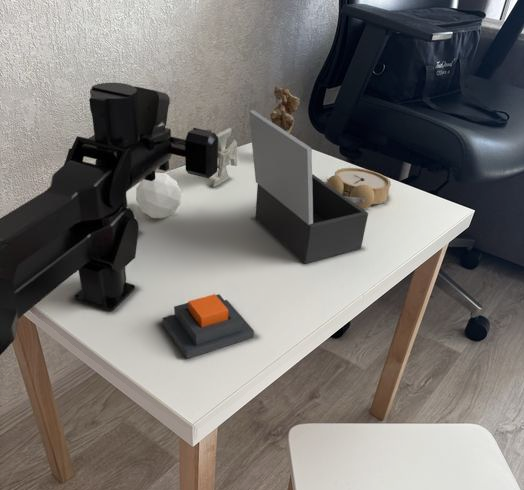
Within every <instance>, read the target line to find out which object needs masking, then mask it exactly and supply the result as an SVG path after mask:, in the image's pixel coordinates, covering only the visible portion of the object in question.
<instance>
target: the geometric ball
mask: <svg viewBox="0 0 524 490" xmlns="http://www.w3.org/2000/svg"><path fill="white" fill-rule="evenodd" d="M135 190H136V191H135V200H136V203H137V204H138V207H139V210H141V212H142V213H144V214H145V215H147V216H149V217H150V218H152V219H166V218H167V217H170V216H171V215H173V214H175V213H176V212H177V209H178V208H179V207H180V205H181V199H182V191H181V188H180V187H179V184H178V183H177V181H176V179H174V178H172V177H171V176H170V175H168V174H166V173H164V172H155V180H153V181H148V180H144V179H143V180H142V181H141V182H139V183H138V184H137V186H136V189H135Z"/></svg>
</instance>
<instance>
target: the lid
mask: <svg viewBox="0 0 524 490" xmlns="http://www.w3.org/2000/svg"><path fill="white" fill-rule="evenodd" d="M248 116H249V126H250V137H251V146H252V147H251V148H252V158H253V169H254V179H255V183H256V184H257V185H258V184H259V185H260V186H261V187H263V188H264V189H265V190H266V191H268V192H269V193H270V194H271V195H273V196H274V197H275V198H276V199H277V200H279V201H280V202H281V203H282V204H284V205H285V206H286V207H287V208H289V209H290V210H291V211H292V212H294V213H295V214H296V215H297V216H299V217H300V218H301V219H302V220H303V221H305V222H306V223H307V224H308V225H310V224H313V193H312V174H313V148H312V147H311V146H309V145H307V144H306V143H305V142H303V141H301V140H300V139H298V138H297V137H295V136H293V135H292V134H291V133H287V132H286V131H284V130H283V129H281V128H280V127H278V126H277V125H275V124H274V123H272V120H269V119H268V118H266V117H265V116H263V115H262V114H260V113H259V112H257V111H256V110H254V109H252V110H249V111H248Z"/></svg>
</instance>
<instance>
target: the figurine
mask: <svg viewBox="0 0 524 490" xmlns="http://www.w3.org/2000/svg"><path fill="white" fill-rule="evenodd" d="M273 95H274V96H275V97H274V98H275V102H276V104H278V105H277V106H276V107H275V108H274V110H272V112H271V113H270V115H269V117H270V121H271V122H272V123H274V124H275V125H277V126H278V127H280V128H281V129H283V130H284V131H286V132H287V133H289V134H291V132H292V129H293V126H294V124H295V118H294V117H293V116H294V115H295V114H294V112H296V111H297V110H298V106H300V105H301V101H300V98H299V97H297V96H294V95H292V94H291V93H290V90H289V89H285V88H281V87H278V86H275V87H274V91H273Z"/></svg>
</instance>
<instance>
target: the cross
mask: <svg viewBox="0 0 524 490" xmlns="http://www.w3.org/2000/svg"><path fill="white" fill-rule="evenodd" d="M231 134H232V127H228V128H226V129H224V130H222V131H221V132H219V133H217V134H216V135H217V137H218V168H217V176H215V177H214V178H213V182H212V188H215V187H217V186H219V185H221V184H222V183H224V182H225V181H227V180H228V179H229V178H230V176H229V173H228V168H227V166H229V165H231V166H232V167H233V166H234V167H238V142H237V139H234V140H233V141H232V142H231V144H229V146H228V147H226V146H227V143H228V142H227V141H228V138H229V137H230V136H231Z"/></svg>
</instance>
